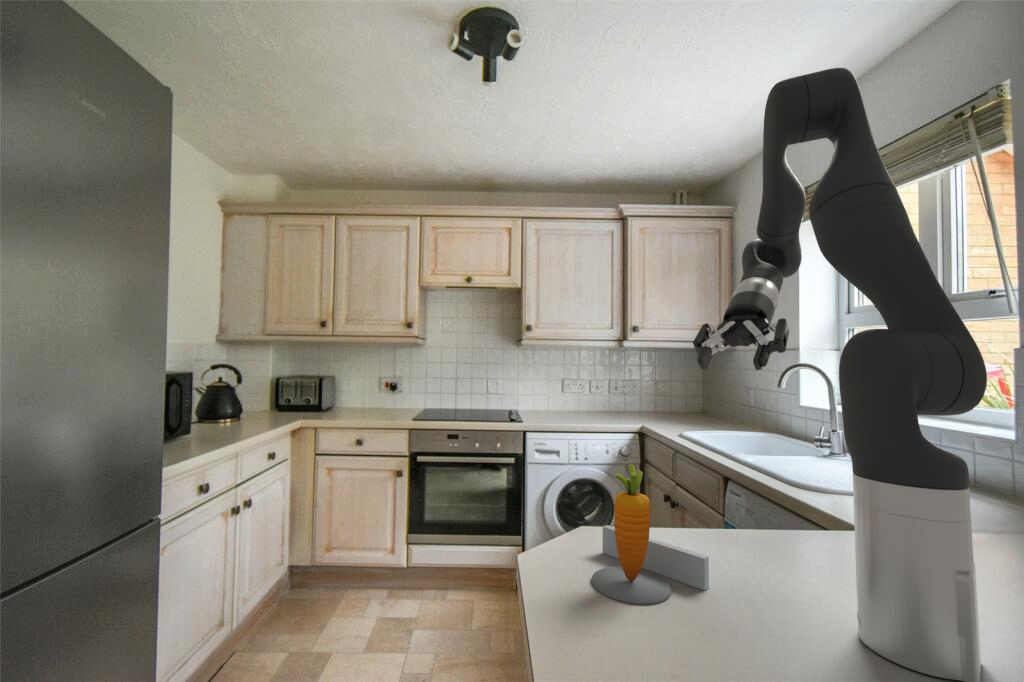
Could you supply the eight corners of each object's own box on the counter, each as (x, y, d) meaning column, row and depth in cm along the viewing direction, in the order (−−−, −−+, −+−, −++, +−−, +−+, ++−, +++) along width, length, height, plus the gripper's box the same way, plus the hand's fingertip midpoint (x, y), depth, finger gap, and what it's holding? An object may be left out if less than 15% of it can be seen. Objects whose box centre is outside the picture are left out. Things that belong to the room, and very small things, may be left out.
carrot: (642, 594, 55) (644, 471, 56) (605, 582, 58) (607, 465, 59) (656, 581, 59) (657, 466, 60) (620, 570, 62) (622, 461, 63)
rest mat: (685, 588, 58) (684, 585, 58) (644, 613, 51) (644, 609, 51) (619, 563, 65) (619, 560, 65) (576, 582, 59) (576, 579, 59)
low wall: (708, 588, 58) (708, 556, 59) (704, 590, 58) (704, 558, 58) (606, 551, 70) (607, 525, 70) (602, 553, 69) (602, 526, 70)
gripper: (706, 294, 85) (679, 350, 76) (791, 284, 75) (771, 347, 66) (717, 325, 88) (692, 381, 79) (801, 319, 78) (783, 383, 69)
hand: (728, 366), depth 73 cm, fingers open, 8 cm apart
